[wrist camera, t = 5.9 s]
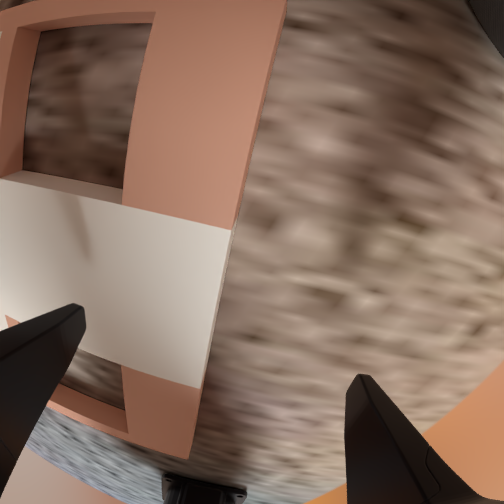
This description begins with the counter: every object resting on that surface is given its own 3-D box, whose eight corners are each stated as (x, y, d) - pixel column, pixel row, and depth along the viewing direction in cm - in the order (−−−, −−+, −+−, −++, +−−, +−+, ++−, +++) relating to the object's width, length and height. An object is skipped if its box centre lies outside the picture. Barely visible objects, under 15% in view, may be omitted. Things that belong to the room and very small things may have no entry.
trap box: (193, 439, 16) (180, 487, 13) (-18, 348, 16) (-43, 375, 13) (286, 11, 8) (288, -36, 4) (-40, 36, 8) (-86, 37, 4)
